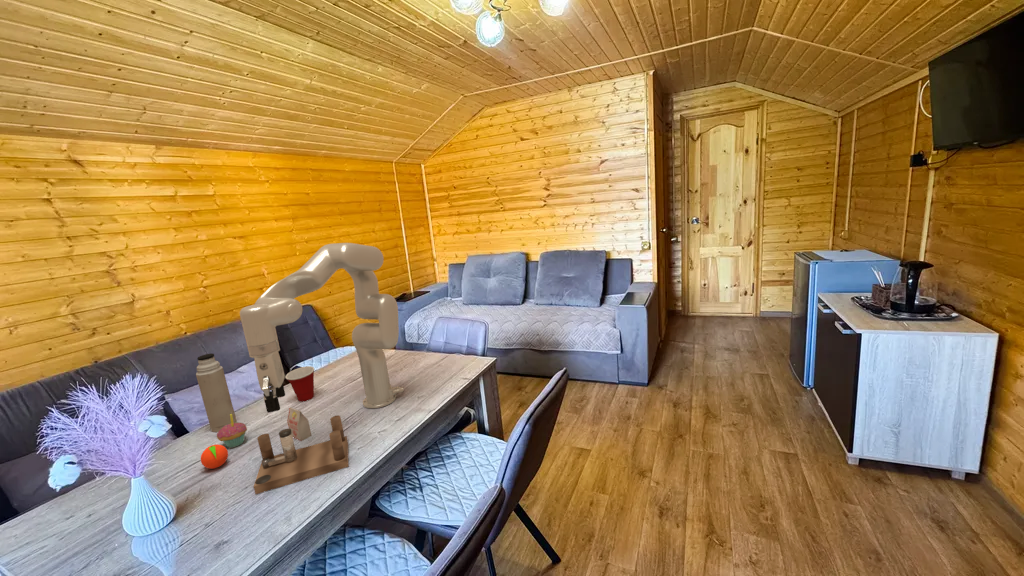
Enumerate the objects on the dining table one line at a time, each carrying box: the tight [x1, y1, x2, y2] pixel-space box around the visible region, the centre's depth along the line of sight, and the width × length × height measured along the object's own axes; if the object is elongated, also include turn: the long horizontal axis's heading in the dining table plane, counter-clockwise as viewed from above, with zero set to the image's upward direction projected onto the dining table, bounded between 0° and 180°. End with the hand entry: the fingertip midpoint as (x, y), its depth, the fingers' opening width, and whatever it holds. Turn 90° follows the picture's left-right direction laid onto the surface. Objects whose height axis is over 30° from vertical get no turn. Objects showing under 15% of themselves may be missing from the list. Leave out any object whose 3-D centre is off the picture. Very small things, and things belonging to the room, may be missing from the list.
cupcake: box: [216, 413, 248, 449], centre depth 140 cm, size 9×8×12 cm
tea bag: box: [286, 407, 313, 442], centre depth 141 cm, size 4×7×10 cm, turn 56°
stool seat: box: [253, 415, 349, 495], centre depth 123 cm, size 24×14×10 cm, turn 112°
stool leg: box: [261, 428, 297, 468], centre depth 122 cm, size 9×3×9 cm, turn 112°
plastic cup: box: [285, 366, 315, 403], centre depth 170 cm, size 11×11×12 cm
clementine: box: [200, 444, 229, 470], centre depth 128 cm, size 8×7×7 cm
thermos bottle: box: [195, 353, 238, 433], centre depth 151 cm, size 8×8×28 cm
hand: (276, 403), depth 120 cm, fingers open, 9 cm apart
